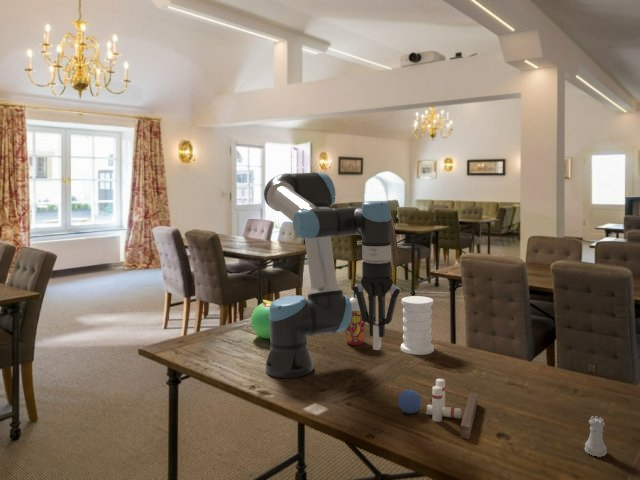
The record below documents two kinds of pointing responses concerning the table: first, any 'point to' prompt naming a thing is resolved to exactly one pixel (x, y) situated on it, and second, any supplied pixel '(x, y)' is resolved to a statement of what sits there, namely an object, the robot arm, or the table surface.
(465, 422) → the back wall
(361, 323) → the smoothie
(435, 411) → the pin
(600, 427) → the rook chess piece
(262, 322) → the toy bird
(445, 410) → the front pin
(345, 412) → the table surface
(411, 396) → the ball
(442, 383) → the pin
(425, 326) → the decorative container
